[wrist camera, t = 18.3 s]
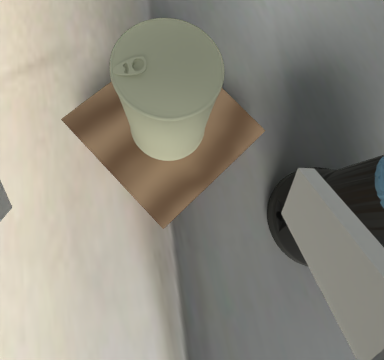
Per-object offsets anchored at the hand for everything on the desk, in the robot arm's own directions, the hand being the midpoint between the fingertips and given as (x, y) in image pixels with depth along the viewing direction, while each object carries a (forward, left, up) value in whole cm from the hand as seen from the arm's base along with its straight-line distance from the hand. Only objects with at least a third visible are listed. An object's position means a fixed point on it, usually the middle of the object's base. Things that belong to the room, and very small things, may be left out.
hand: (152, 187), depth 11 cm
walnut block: (+7, -8, -26) cm, 28 cm away
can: (+7, -8, -18) cm, 21 cm away
